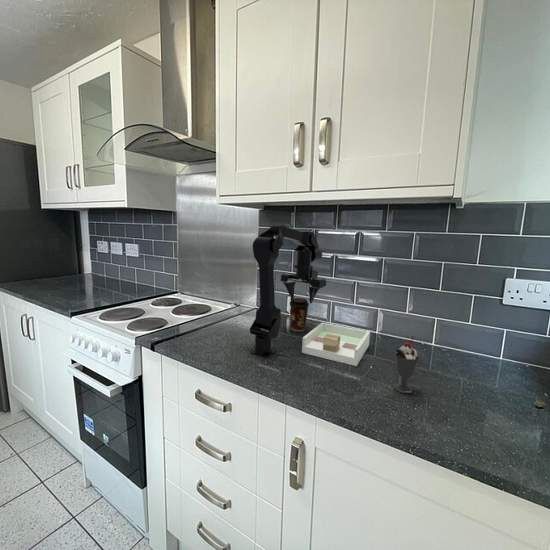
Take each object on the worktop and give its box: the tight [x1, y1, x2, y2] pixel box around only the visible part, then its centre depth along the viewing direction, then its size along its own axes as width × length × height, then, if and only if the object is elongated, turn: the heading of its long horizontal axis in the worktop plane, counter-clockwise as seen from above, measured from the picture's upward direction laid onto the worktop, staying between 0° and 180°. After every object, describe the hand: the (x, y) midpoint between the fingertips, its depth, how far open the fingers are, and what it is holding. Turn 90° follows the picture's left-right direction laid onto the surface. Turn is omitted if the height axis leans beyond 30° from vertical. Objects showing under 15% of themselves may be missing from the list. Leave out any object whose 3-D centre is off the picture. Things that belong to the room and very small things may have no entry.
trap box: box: [301, 322, 371, 367], centre depth 108 cm, size 20×19×6 cm
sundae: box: [393, 335, 421, 391], centre depth 81 cm, size 7×7×15 cm
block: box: [323, 333, 340, 353], centre depth 101 cm, size 4×4×4 cm
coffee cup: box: [289, 297, 310, 332], centre depth 127 cm, size 9×8×13 cm
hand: (301, 301), depth 120 cm, fingers open, 9 cm apart
